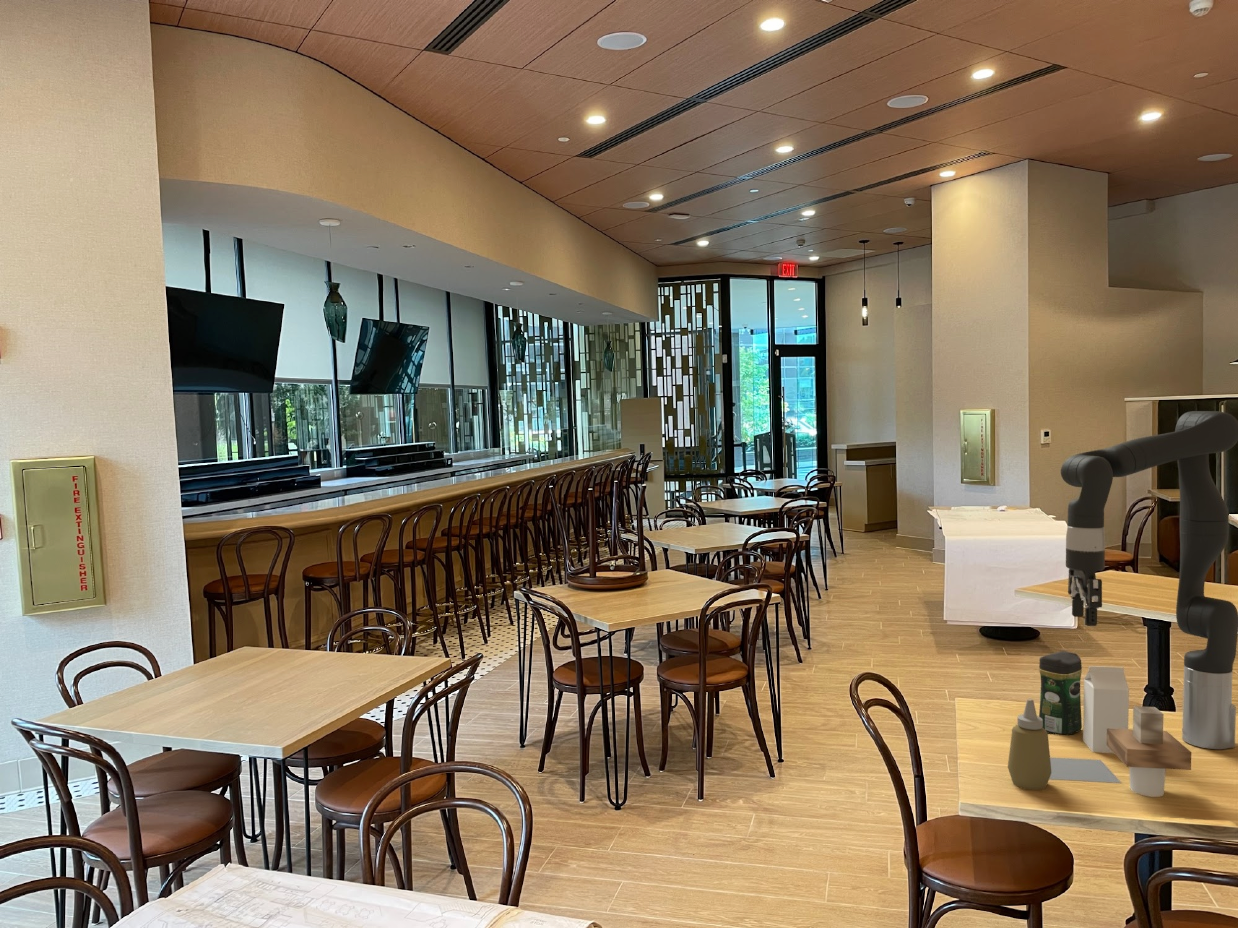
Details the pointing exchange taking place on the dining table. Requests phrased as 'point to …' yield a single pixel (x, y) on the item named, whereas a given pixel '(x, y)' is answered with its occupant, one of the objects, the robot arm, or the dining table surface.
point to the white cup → (1147, 781)
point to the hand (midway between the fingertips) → (1084, 620)
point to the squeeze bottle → (1029, 751)
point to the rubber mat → (1081, 770)
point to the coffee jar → (1060, 693)
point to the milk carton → (1104, 705)
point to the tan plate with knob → (1148, 743)
